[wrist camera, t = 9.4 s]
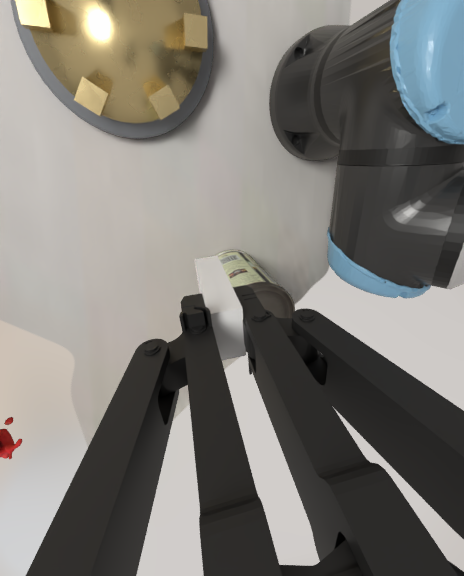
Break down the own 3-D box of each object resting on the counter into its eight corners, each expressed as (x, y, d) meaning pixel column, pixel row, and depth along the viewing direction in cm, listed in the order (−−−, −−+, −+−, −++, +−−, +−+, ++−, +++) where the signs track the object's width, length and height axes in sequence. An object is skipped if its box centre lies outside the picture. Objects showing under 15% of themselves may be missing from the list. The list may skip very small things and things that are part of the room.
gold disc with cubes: (227, 80, 33) (261, 48, 23) (110, 153, 33) (94, 153, 23) (139, -133, 25) (133, -327, 15) (-20, -34, 25) (-134, -160, 15)
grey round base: (228, -33, 30) (233, -42, 29) (192, 158, 38) (194, 158, 36) (12, -160, 23) (3, -180, 22) (18, 106, 31) (12, 104, 29)
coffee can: (228, 313, 50) (254, 364, 38) (188, 280, 45) (203, 326, 33) (269, 275, 49) (309, 315, 37) (232, 236, 44) (265, 268, 32)
